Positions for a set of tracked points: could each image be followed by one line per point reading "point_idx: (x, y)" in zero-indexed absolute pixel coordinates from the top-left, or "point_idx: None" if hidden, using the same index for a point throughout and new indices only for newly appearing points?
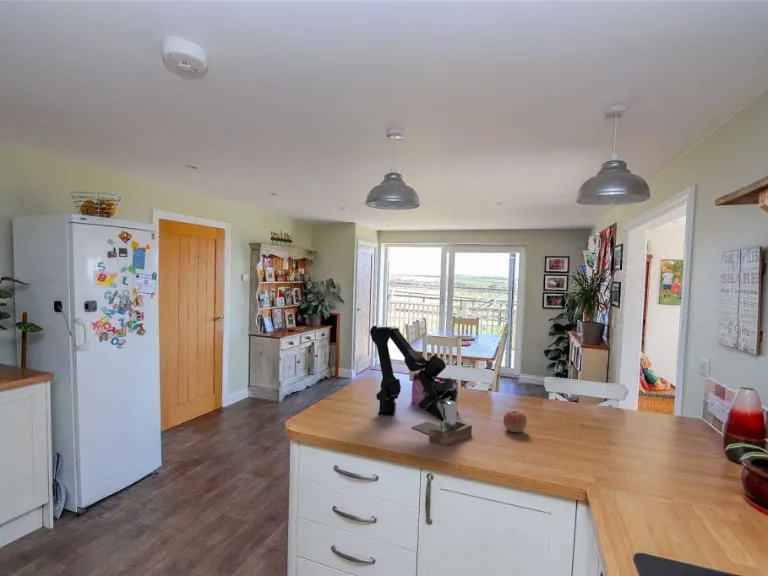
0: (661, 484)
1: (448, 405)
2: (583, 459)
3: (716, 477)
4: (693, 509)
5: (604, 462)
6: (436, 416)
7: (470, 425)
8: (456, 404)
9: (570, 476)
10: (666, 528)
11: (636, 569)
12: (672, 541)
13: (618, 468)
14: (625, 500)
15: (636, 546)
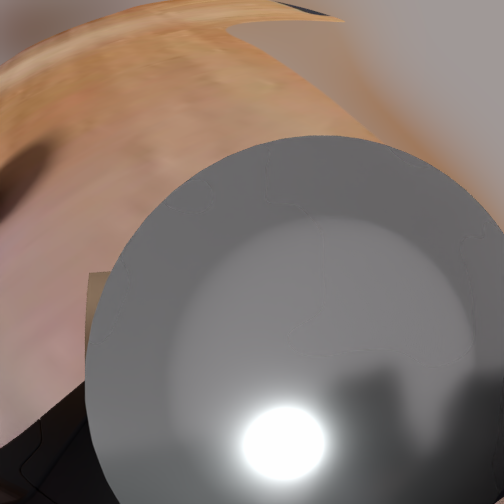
0: (124, 23)
1: (493, 228)
2: (93, 60)
3: (68, 31)
4: (171, 7)
5: (87, 52)
6: None
7: (104, 273)
8: (299, 139)
9: (194, 39)
10: (239, 6)
11: (332, 16)
12: (259, 5)
13: (101, 42)
14: (210, 16)
15: (300, 12)
